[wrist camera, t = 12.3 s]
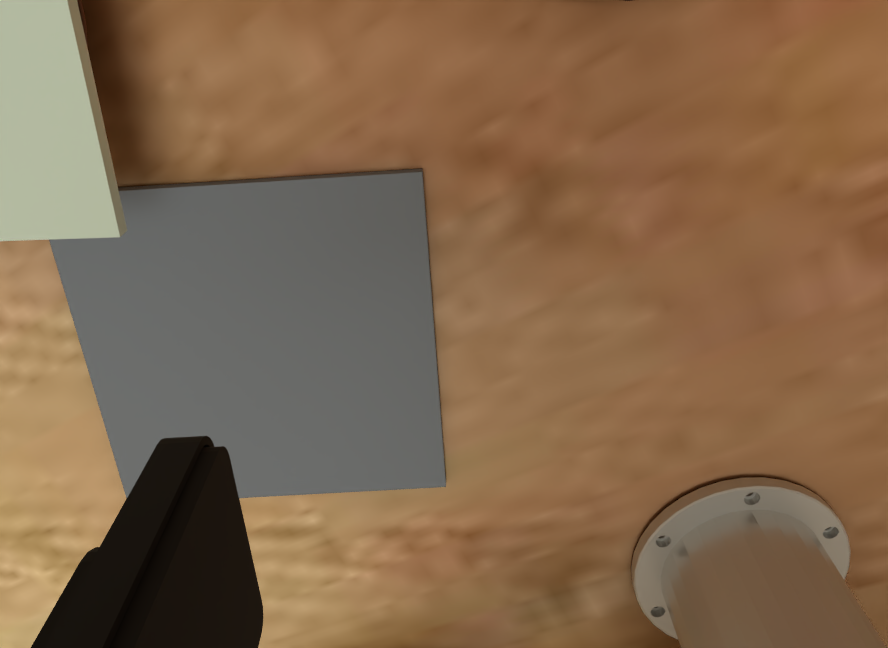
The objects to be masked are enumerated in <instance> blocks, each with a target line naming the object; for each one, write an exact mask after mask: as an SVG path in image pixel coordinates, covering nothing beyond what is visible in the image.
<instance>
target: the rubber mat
mask: <svg viewBox="0 0 888 648" xmlns="http://www.w3.org/2000/svg"><path fill="white" fill-rule="evenodd" d="M118 190H119V195H120V200H121V204H122V209H123V213H124V218H125V222H126V227H127V231H126V232H125V233H124V234H123V235H122V236H121V237H113V238H81V239H49V241H50V244H51V248H52V251H53V254H54V258H55V261H56V264H57V268H58V271H59V274H60V278H61V281H62V284H63V288H64V291H65V294H66V298H67V301H68V304H69V308H70V311H71V314H72V318H73V321H74V324H75V328H76V331H77V334H78V338H79V341H80V344H81V348H82V351H83V354H84V358H85V361H86V364H87V368H88V371H89V374H90V378H91V381H92V384H93V388H94V391H95V394H96V398H97V401H98V404H99V408H100V411H101V414H102V418H103V421H104V424H105V428H106V431H107V434H108V438H109V441H110V444H111V448H112V451H113V454H114V458H115V461H116V464H117V468H118V471H119V474H120V478H121V481H122V484H123V488H124V491H125V494H126V498H127V497H128V496H129V494H130V492H131V490H132V488H133V487H134V485H135V483H136V481H137V480H138V478H139V476H140V474H141V472H142V471H143V469H144V467H145V465H146V463H147V462H148V460H149V458H150V456H151V454H152V453H153V451H154V449H155V447H156V445H157V444H158V443H159V441H160V440H161V439H164V438H175V437H193V436H208V437H210V438H211V440H212V441H213V443H214V447H220V446H224V447H226V449H227V450H228V453H229V456H230V460H231V465H232V469H233V474H234V478H235V483H236V487H237V492H238V496H239V498H248V497H267V496H285V495H304V494H322V493H341V492H359V491H378V490H397V489H415V488H434V487H446V475H445V462H444V448H443V435H442V422H441V409H440V395H439V382H438V369H437V356H436V342H435V329H434V316H433V303H432V289H431V276H430V263H429V250H428V237H427V223H426V210H425V197H424V184H423V170H422V169H407V170H391V171H375V172H359V173H343V174H327V175H311V176H295V177H279V178H263V179H248V180H232V181H216V182H200V183H184V184H168V185H152V186H136V187H120V188H118Z"/></svg>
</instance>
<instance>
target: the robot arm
mask: <svg viewBox="0 0 888 648" xmlns="http://www.w3.org/2000/svg"><path fill="white" fill-rule="evenodd" d="M850 553H851V550H850V545H849V539H848V535H847V533H846V531H845V529H844V527H843V525H842V523H841V521H840V520H839V518H838V517H837V515H836V514H835V513H834V511H833V510H832V508H831V507H830V506H829V505H828V504H827V503H826V502H825V501H824V500H823V499H821V498H820V497H819V496H818V495H817V494H815V493H813V492H811V491H810V490H808V489H806V488H804V487H803V486H800V485H797V484H794V483H791V482H788V481H785V480H779V479H772V478H765V477H755V478H738V479H732V480H726V481H720V482H717V483H714V484H711V485H708V486H705V487H702V488H699V489H697V490H695V491H693V492H691V493H689V494H687V495H685V496H683V497H681V498H680V499H678V500H677V501H675V502H674V503H673V504H671V505H670V506H668V507H667V508H665V509H664V510H663V511H662V512H661V513H660V514H659V515H658V516H657V517H656V518H655V519H654V520H653V521H652V522H651V523H650V524H649V526H648V527H647V529H646V530H645V532H644V533H643V534H642V536H641V537H640V540H639V542H638V544H637V546H636V549H635V551H634V554H633V560H632V565H631V574H632V584H633V587H634V591H635V594H636V598H637V601H638V603H639V605H640V607H641V609H642V611H643V613H644V614H645V615H646V617H647V618H648V619H649V620H650V621H651V622H652V624H653V625H655V626H656V627H657V628H659V629H660V630H661V631H663V632H664V633H665V634H667V635H669V636H671V637H673V638H675V639H677V640H679V643H680V646H681V648H887V647H886V645H885V644H884V642H883V641H882V639H881V637H880V636H879V634H878V633H877V631H876V629H875V628H874V626H873V625H872V623H871V622H870V620H869V618H868V617H867V615H866V614H865V612H864V611H863V609H862V607H861V606H860V604H859V603H858V601H857V599H856V598H855V596H854V595H853V593H852V592H851V590H850V588H849V587H848V585H847V584H846V582H845V578H846V575H847V572H848V569H849V564H850ZM262 626H263V606H262V600H261V595H260V591H259V586H258V582H257V577H256V573H255V568H254V564H253V559H252V555H251V550H250V546H249V541H248V537H247V532H246V528H245V523H244V519H243V514H242V510H241V505H240V501H239V496H238V492H237V487H236V483H235V478H234V474H233V469H232V465H231V460H230V456H229V453H228V450H227V449H226V447H224V446H220V447H214V443H213V441H212V440H211V438H210V437H208V436H193V437H175V438H164V439H161V440H160V441H159V443H158V444H157V445H156V447H155V449H154V451H153V453H152V454H151V456H150V458H149V460H148V462H147V463H146V465H145V467H144V469H143V471H142V472H141V474H140V476H139V478H138V480H137V481H136V483H135V485H134V487H133V488H132V490H131V492H130V494H129V496H128V497H127V499H126V501H125V503H124V505H123V506H122V508H121V510H120V512H119V514H118V515H117V517H116V519H115V521H114V523H113V524H112V526H111V528H110V530H109V532H108V533H107V535H106V537H105V539H104V540H103V542H102V544H101V546H100V547H96V548H94V549H92V550H90V551H89V552H87V554H86V555H85V556H84V558H83V559H82V560H81V562H80V563H79V565H78V567H77V568H76V570H75V572H74V574H73V575H72V577H71V579H70V581H69V582H68V584H67V586H66V588H65V589H64V591H63V593H62V594H61V596H60V598H59V600H58V601H57V603H56V605H55V607H54V608H53V610H52V612H51V614H50V615H49V617H48V619H47V621H46V622H45V624H44V626H43V627H42V629H41V631H40V633H39V634H38V636H37V638H36V640H35V641H34V643H33V645H32V647H31V648H258V645H259V641H260V637H261V633H262Z"/></svg>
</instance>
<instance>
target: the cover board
mask: <svg viewBox="0 0 888 648" xmlns="http://www.w3.org/2000/svg"><path fill="white" fill-rule="evenodd" d="M126 231H127V227H126V222H125V218H124V213H123V209H122V204H121V200H120V195H119V190H118V186H117V181H116V177H115V172H114V167H113V163H112V158H111V154H110V149H109V144H108V140H107V135H106V131H105V126H104V122H103V117H102V112H101V108H100V103H99V99H98V94H97V89H96V85H95V80H94V76H93V71H92V67H91V62H90V57H89V53H88V48H87V44H86V39H85V34H84V30H83V25H82V21H81V16H80V12H79V7H78V2H77V0H0V241H17V240H49V239H81V238H113V237H121V236H122V235H123V234H124V233H125V232H126Z"/></svg>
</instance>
